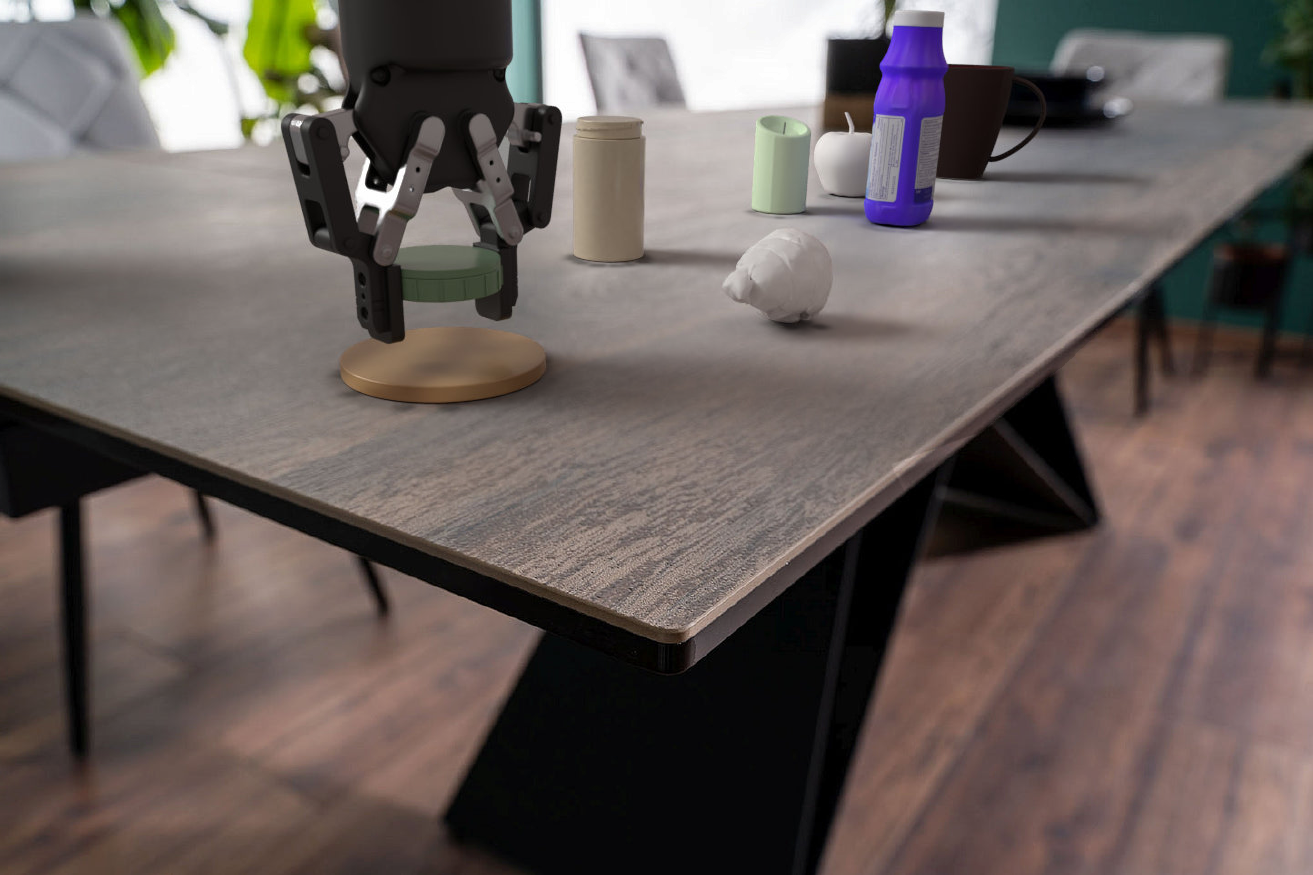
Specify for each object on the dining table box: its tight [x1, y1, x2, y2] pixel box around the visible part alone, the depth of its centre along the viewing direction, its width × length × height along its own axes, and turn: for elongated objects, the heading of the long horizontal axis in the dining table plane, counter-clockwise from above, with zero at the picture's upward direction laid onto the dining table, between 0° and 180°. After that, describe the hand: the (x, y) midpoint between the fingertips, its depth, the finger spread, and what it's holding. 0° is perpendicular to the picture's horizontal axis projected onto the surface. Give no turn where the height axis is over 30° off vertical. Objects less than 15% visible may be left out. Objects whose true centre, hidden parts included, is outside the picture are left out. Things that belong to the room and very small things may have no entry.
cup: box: [936, 63, 1047, 181], centre depth 121 cm, size 10×14×12 cm
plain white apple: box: [813, 111, 872, 198], centre depth 108 cm, size 7×7×8 cm
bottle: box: [863, 9, 949, 227], centre depth 92 cm, size 7×6×17 cm
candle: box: [750, 114, 812, 215], centre depth 98 cm, size 5×5×8 cm
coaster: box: [339, 326, 547, 404], centre depth 54 cm, size 10×10×1 cm
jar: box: [572, 115, 647, 263], centre depth 78 cm, size 5×5×10 cm
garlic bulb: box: [722, 227, 834, 324], centre depth 62 cm, size 6×6×5 cm
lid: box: [393, 244, 503, 304], centre depth 52 cm, size 6×6×2 cm
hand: (442, 326), depth 53 cm, fingers closed on lid, 5 cm apart
